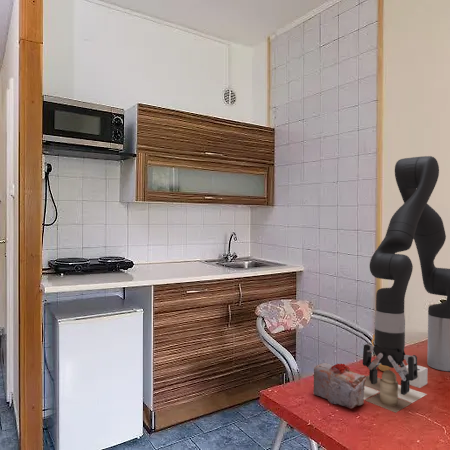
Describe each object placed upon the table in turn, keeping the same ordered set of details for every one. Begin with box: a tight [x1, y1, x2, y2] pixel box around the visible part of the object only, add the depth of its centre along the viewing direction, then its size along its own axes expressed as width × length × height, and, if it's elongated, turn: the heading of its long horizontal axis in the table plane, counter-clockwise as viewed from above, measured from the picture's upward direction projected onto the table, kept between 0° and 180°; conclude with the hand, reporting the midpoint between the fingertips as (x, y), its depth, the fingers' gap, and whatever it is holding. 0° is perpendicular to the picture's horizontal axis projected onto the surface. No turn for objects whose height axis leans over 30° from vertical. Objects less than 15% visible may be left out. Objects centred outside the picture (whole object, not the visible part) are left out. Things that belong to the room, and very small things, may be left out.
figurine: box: [371, 333, 392, 372], centre depth 129 cm, size 8×6×12 cm
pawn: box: [379, 369, 399, 406], centre depth 106 cm, size 4×4×8 cm
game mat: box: [364, 374, 428, 414], centre depth 112 cm, size 18×18×1 cm
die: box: [405, 364, 429, 389], centre depth 119 cm, size 5×5×5 cm
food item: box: [312, 362, 367, 410], centre depth 107 cm, size 14×8×10 cm, turn 43°
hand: (388, 388), depth 106 cm, fingers open, 8 cm apart
